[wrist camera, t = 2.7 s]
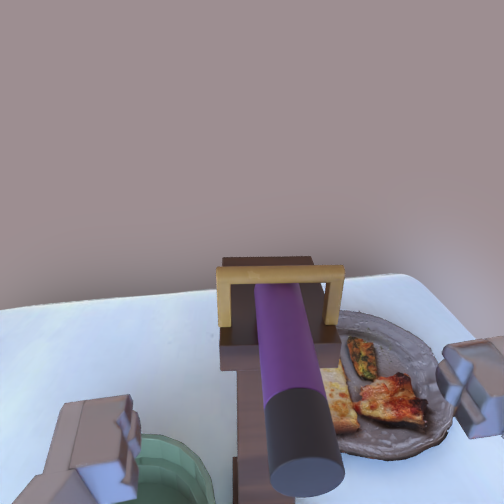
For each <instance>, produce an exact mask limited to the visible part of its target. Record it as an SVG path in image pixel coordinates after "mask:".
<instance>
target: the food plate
mask: <svg viewBox="0 0 504 504" xmlns="http://www.w3.org/2000/svg"><path fill="white" fill-rule="evenodd" d="M336 328H337V331H338V333H339V336H340V339H341V342H342V346H341V352H340V358H339V365H338V368H320V372H321V376H322V380H323V384H324V388H325V392H326V396H327V400H328V404H329V408H330V412H331V417H332V421H333V425H334V429H335V433H336V437H337V441H338V445H339V449H340V452H341V453H342V452H343V453H344V452H345V454H346V453H347V454H349V455H354V456H360V457H365V458H370V459H378V460H383V461H393V460H395V461H396V460H403V459H408V458H410V457H413V456H416V455H418V454H420V453H421V452H423V451H425V450H426V449H428V448H431V447H433V446H436V445H439V444H440V443H441V442H442V441H443V440H444V439H445V438H446V436H447V434H448V432H447V430H449V429H450V427H451V425H452V424H453V423H452V422H453V421H452V419H453V417H454V413H455V406H453V405H452V404H450V403H449V402H447V401H446V400H445V399H444V398H443V396H442V394H441V393H440V391H439V388H438V386H437V383H436V376H435V372H436V368H437V365H438V362H437V360H436V358H435V356H433V353H432V350H431V348H429V347H428V346H427V344H425V343H424V342H423V340H421V339H420V338H418V337H417V336H415V335H413V334H412V333H410V332H409V331H406V330H404V329H403V328H401V327H398V326H396V325H395V324H393V323H392V322H389V321H387V320H384V319H382V318H379V317H376V316H373V315H369V314H364V313H361V312H360V311H359V312H354V311H353V312H352V311H349V310H348V311H347V310H344V311H343V310H340V311H339V318H338V324H337V325H336Z"/></svg>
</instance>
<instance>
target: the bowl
mask: <svg viewBox="0 0 504 504" xmlns="http://www.w3.org/2000/svg"><path fill="white" fill-rule="evenodd" d="M141 435H142V441H141V451H140V453H139V454H138V456H137V457H136V458H135V461H136V463H137V465H138V468H139V478H138V489H137V499H133V500H128V501H123V502H118V503H113V504H215V498H214V492H213V486H212V481H211V477H210V475H209V474H208V472H207V470H206V468H205V466H204V465H203V463H202V461H201V459H200V458H199V457H198V456H197V455H196V454H195V453H194V452H193V451H191V450H190V449H189V448H188V447H187V446H186V445H184V444H183V443H182V442H179V441H177V440H174V439H171V438H169V437H166V436H164V435H157V434H141Z"/></svg>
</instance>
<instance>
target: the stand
mask: <svg viewBox="0 0 504 504" xmlns="http://www.w3.org/2000/svg"><path fill="white" fill-rule="evenodd" d="M344 279H345V269H344V266H343V265H314V263H313V261H312V258H311V256H296V257H295V256H294V257H293V256H292V257H224V258H222V267H217V268H216V283H217V308H218V326H219V327H220V340H219V352H220V370H221V371H237V457H233V504H295V497H291V496H286V495H283V494H281V493H279V492H277V491H276V490H275V489H274V488H273V487H272V485H271V483H270V475H269V463H268V451H267V439H266V427H265V415H264V403H263V391H262V379H261V367H260V355H259V343H258V331H257V319H256V307H255V295H254V288H255V284H275V283H299V286H300V290H301V294H302V298H303V302H304V307H305V311H306V315H307V319H308V323H309V327H310V331H311V335H312V339H313V343H314V347H315V351H316V355H317V359H318V364H319V368H338V365H339V358H340V352H341V346H342V342H341V339H340V336H339V333H338V331H337V328H336V325H337V324H338V318H339V311H340V305H341V298H342V291H343V285H344ZM321 283H326V288H325V294H324V291H323V289H322V286H321Z"/></svg>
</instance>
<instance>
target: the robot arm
mask: <svg viewBox="0 0 504 504" xmlns="http://www.w3.org/2000/svg"><path fill="white" fill-rule="evenodd" d="M442 355H443V357H444V358H445V359H444V360H442V361H441V362H440V363H439V364H438V365H437V368H436V372H435V376H436V383H437V386H438V388H439V391H440V393H441V394H442V396H443V398H444V399H445V400H446V401H447V402H449V403H450V404H452V405H453V406H455V413H454V416H455V417H456V419H457V421H458V422H459V424H460V425H461V427H462V429H463V430H464V432H465V433H466V435H467V437H468V438H469V439H476V438H483V437H490V436H496V435H502V436H501V437H502V438H503V439H504V336H497V337H492V338H486V339H476V340H470V341H464V342H459V343H453V344H448V345H446V346H445V347H444V348H443V351H442ZM141 441H142V435H141V423H140V418H139V415H138V413H137V412H136V411H134V410H133V400H132V398H131V396H130V394H127V395H120V396H113V397H105V398H98V399H91V400H83V401H76V402H70V403H64V405H63V407H62V408H61V410H60V412H59V416H58V419H57V423H56V427H55V430H54V434H53V437H52V441H51V445H50V448H49V452H48V455H47V459H46V463H45V466H44V470H43V473H42V474H41V475H36V476H35V477H34V478H33V479H32V480H31V481H30V483H29V484H28V485H27V486H26V487H25V489H24V490H23V491H22V492H21V493H20V494H19V496H18V497H17V498H16V499H15V500H14V501H13V503H12V504H113V503H118V502H123V501H128V500H133V499H137V489H138V478H139V468H138V465H137V463H136V461H135V458H136V457H137V456H138V454H139V453H140V451H141Z"/></svg>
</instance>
